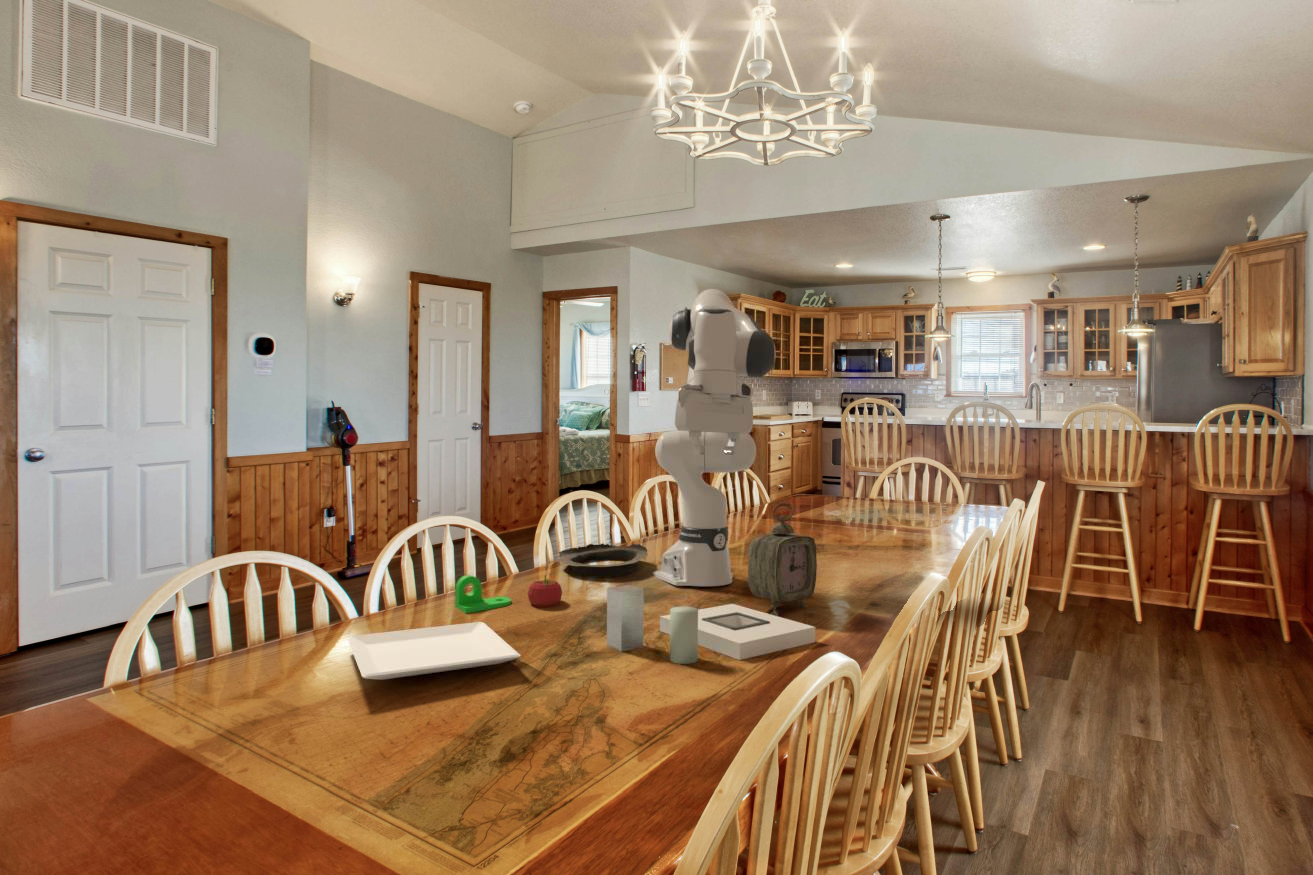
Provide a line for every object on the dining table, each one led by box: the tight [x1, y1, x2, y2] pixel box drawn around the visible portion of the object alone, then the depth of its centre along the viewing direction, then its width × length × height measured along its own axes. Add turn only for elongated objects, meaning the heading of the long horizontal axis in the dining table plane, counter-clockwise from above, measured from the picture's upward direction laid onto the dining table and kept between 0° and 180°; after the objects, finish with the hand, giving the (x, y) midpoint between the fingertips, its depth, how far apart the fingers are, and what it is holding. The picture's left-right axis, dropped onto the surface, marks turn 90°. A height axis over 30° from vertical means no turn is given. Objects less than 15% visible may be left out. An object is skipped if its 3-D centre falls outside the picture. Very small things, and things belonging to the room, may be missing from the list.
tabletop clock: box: [747, 502, 818, 617], centre depth 171 cm, size 14×9×25 cm, turn 131°
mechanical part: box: [454, 574, 512, 615], centre depth 172 cm, size 12×6×8 cm, turn 127°
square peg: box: [606, 584, 645, 652], centre depth 143 cm, size 5×5×11 cm
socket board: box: [659, 603, 816, 661], centre depth 151 cm, size 24×20×3 cm
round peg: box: [669, 606, 699, 665], centre depth 135 cm, size 5×5×9 cm
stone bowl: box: [557, 543, 649, 578], centre depth 205 cm, size 25×25×9 cm
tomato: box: [527, 574, 563, 608], centre depth 174 cm, size 8×8×8 cm
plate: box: [346, 621, 522, 680], centre depth 137 cm, size 26×26×2 cm
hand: (714, 454), depth 153 cm, fingers open, 8 cm apart
